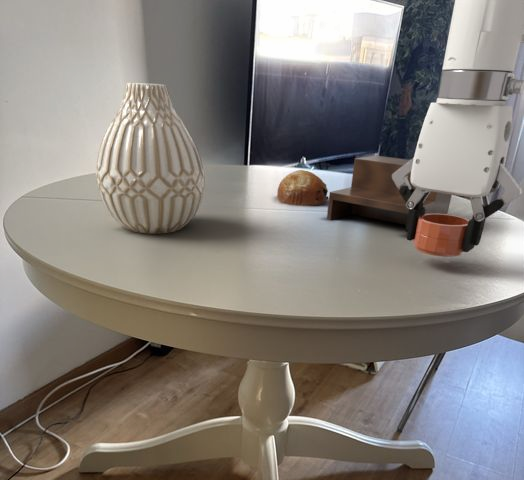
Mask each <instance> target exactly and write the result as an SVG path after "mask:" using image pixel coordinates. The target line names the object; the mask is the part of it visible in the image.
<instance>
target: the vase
mask: <svg viewBox="0 0 524 480" xmlns="http://www.w3.org/2000/svg"><path fill="white" fill-rule="evenodd" d="M95 179H96V180H95V181H96V185H97V189H98V193H99V196H100V198H101V201H102V203H103V205H104V207H105V208H106V210H107V212H108V213H109V214H110V216H111V217H112V218H113V219H114V220H115V221H116V222H117V223H119V224H120V225H121V226H122V227H124V228H125V229H127V230H129V231H131V232H133V233H140V234H154V235H155V234H167V233H173V232H177V231H180V230H181V229H183V228H184V227H185V226H187V224H189V223H190V222H191V221H192V220H193V219H194V217H195V216H196V214H197V212H199V209H200V206H201V204H202V201H203V197H204V193H205V184H206V183H205V171H204V166H203V161H202V158H201V156H200V152H199V150H198V147H197V145H196V143H195V140H194V138H193V136H192V134H191V133H190V131H189V130H188V128H187V126H186V125H185V123H184V122H183V120H182V118H180V116H179V115H178V113H177V112H176V109H175V108H174V105H173V103H172V100H171V97H170V94H169V91H168V87H167V85H166V84H160V83H143V82H126V84H125V86H124V91H123V96H122V100H121V104H120V105H119V108H118V110H117V112H116V113H115V115H114V117H113V118H112V120H111V121H110V123H109V125H108V127H107V129H106V131H105V132H104V135H103V137H102V139H101V142H100V145H99V149H98V153H97V159H96V167H95Z"/></svg>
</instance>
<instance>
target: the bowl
mask: <svg viewBox="0 0 524 480" xmlns="http://www.w3.org/2000/svg"><path fill="white" fill-rule="evenodd" d="M469 220H470V219H468V218H466V217H462V216H459V215H455V214H422V215H420V216H419V217H418V222H417V227H416V232H415V238H414V239H413V246H414V248H415V249H416V250H417V251H419V252H420V253H423V254H426V255H429V256H435V257H443V258H445V257H446V258H449V257H450V258H451V257H457V256H458V257H459V256H461V255H463V253H464V252H463V250H462V245H463V241H464V237H465V233H466V229H467V225H468V221H469Z"/></svg>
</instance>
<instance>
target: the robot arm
mask: <svg viewBox="0 0 524 480" xmlns="http://www.w3.org/2000/svg"><path fill="white" fill-rule="evenodd" d="M451 15H452V16H451V20H450V25H449V30H448V31H449V32H448V37H447V42H446V48H445V53H444V58H443V63H442V71H441V75H440V81H439V86H438V91H437V97H436V101H435V102H430V104H429V107H428V109H427V112H426V115H425V117H424V121H423V123H422V127H421V129H420V133H419V136H418V140H417V145H416V147H415V151H414V155H413V158H411V159H409V160H410V161H409V162H407V163H406V164H405V165H403V166H402V167H401V168H399V169H398V170H397V171H395V172H394V173H393V174H392V179H393V181H394V183H395V184H396V186H397V188H398V189H399V192H400V194H401V196H402V197H403V199H404V200H405V202H406V207H407V208H408V209H409V213H408V218H407V224H406V225H405V232H406V241H414V238H415V232H416V227H417V222H418V217H419V216H420V215H422V214H425V207H423V202H424V201H425V199H426V198H427V197H428V195H429V194H430V192H431V191H433V192H439V193H446V194H452V196H453V195H454V196H460V197H467V198H469V201H470V206H471V209H472V218H471V219H468V220H469V221H468V225H467V229H466V233H465V237H464V241H463V245H462V250H463V253H468V252H470V251H472V250H474V248H475V247H477V246H479V244H480V242H481V239H482V235H483V232H484V227H485V225H486V220H487V219H488V218H489V217H490V216H492V215H494V214H495V213H497V212H498V211H500V210H501V209H503V208H504V207H505V206H507V205H509V204H510V203H512V202H513V201H514V200H516V199H517V198H518V197H519V196H521V195H522V194H523V189H522V188H521V185H520V184H519V183H518V182H517V180H516V179H515V178H514V177H513V176H512V174H511V172H510V171H509V170H508V169H507V167H506V161H507V156H508V151H509V144H510V141H511V140H510V139H511V132H512V125H513V114H514V113H513V112H514V106H513V105H506V104H507V101H508V100H509V98H510V97H511V96H514V95H522V93H523V91H524V79H518V78H516V76H515V75H516V73H514V71H515V67H516V64H517V59H518V56H519V52H520V48H521V44H524V0H454V3H453V10H452V14H451ZM410 173H411V184H412V185H413V186H414V187H416V189H415V190H414V188H413V187H412V186H411V185H410V184H409V181H408V179H407V177H408V175H409V174H410ZM500 187H501V188H502V189H503V193H502V194H501V195H500V196H499V197H498V198H496V199H495V200H493V201H491V202H490V201H489V200H490V199H489V196H488V195H489V194H492V193H495V192H496V191H497V190H499V189H500ZM407 232H408V234H407Z"/></svg>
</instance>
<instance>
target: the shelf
mask: <svg viewBox="0 0 524 480" xmlns="http://www.w3.org/2000/svg"><path fill="white" fill-rule="evenodd" d="M410 160H411V159H406V158H398V157H390V156H384V155H370V156H363V157H355V158H354V161H353V162H354V163H353V170H352V177H351V185H350V187H346V188H342V189H341V188H340V189H337V190H332V191H329V195H328V204H327V214H326V220H328V221H332V220H336V219H339V218H343V217H345V216H349V215H354V216H355V215H356V216H359V217H365V218H369V219H375V220H378V221H379V220H380V221H384V222H388V223H389V222H390V223H395V224H399V225H404V226H406V224H407V218H408V213H409V209H408V208H407V207H406V202H405V200H404V199H403V197H402V196H401V194H400V192H399V189H398V188H397V186H396V184H395V183H394V181H393V179H392V174H393V173H394V172H395V171H397V170H398V169H399V168H401V167H402V166H403V165H405V164H406V163H407V162H409V161H410ZM407 179H408V181H409V184H410V185H411V186H412V187H413V188H414V190H415V189H416V187H414V186H413V185H412V184H411V173H410V174H409V175H408V177H407ZM452 196H453V195H452V194H446V193H439V192H433V191H431V192H430V194H429V195H428V197H427V198H426V199H425V201H424V202H423V207H425V214H448V213H449V209H450V205H451V200H452ZM448 215H449V214H448ZM407 234H408V232H406V235H407Z"/></svg>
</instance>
